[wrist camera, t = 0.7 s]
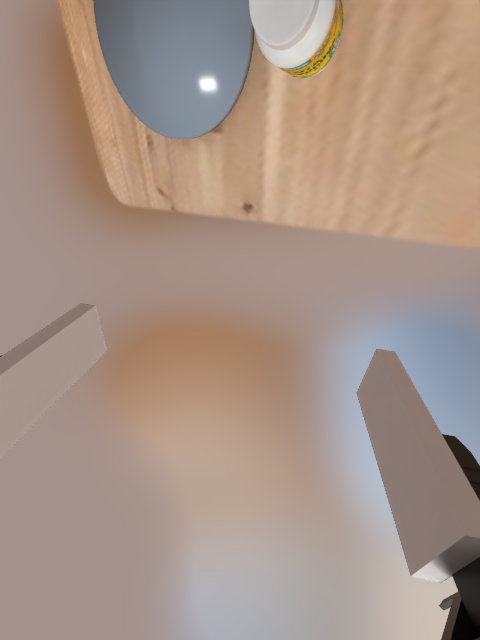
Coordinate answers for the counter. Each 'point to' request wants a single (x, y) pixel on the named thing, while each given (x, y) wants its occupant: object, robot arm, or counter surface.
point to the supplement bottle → (297, 33)
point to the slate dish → (177, 59)
